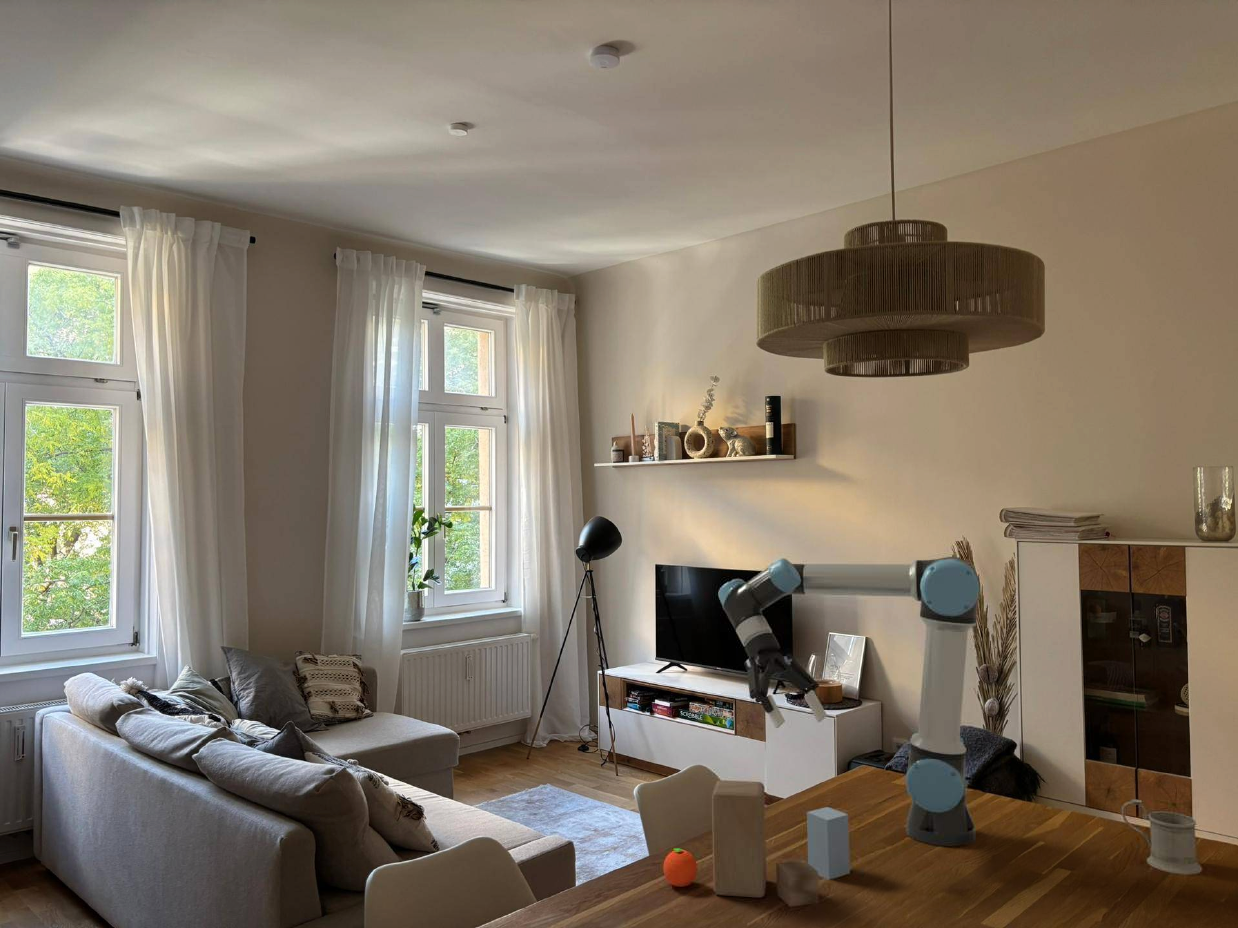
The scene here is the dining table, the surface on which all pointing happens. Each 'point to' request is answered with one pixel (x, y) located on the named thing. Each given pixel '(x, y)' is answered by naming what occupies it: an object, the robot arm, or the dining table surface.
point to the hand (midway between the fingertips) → (802, 721)
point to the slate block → (828, 842)
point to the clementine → (680, 867)
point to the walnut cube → (797, 883)
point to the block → (739, 838)
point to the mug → (1170, 841)
